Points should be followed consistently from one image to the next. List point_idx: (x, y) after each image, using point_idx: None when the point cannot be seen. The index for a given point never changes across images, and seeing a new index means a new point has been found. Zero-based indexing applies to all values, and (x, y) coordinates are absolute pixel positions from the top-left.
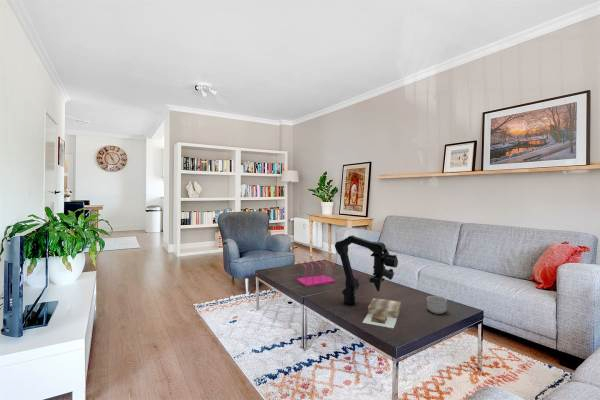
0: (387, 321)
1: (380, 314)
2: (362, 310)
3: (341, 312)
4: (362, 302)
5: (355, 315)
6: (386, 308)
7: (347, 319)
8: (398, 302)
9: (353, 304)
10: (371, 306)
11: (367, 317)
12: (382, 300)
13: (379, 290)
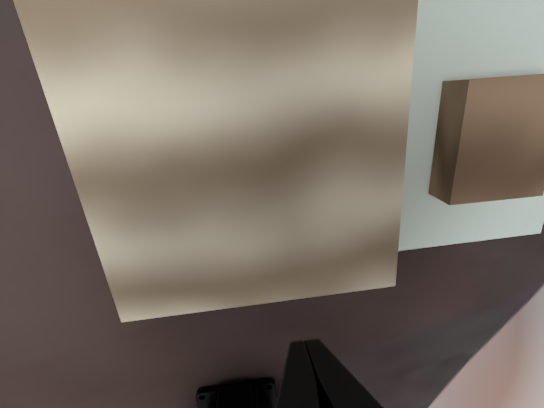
0: (482, 64)
1: (459, 145)
2: (319, 304)
3: (408, 384)
4: (160, 357)
5: (426, 308)
6: (364, 117)
7: (502, 321)
8: (58, 18)
9: (259, 385)
10: (369, 265)
11: (447, 232)
12: (134, 228)
13: (298, 346)
